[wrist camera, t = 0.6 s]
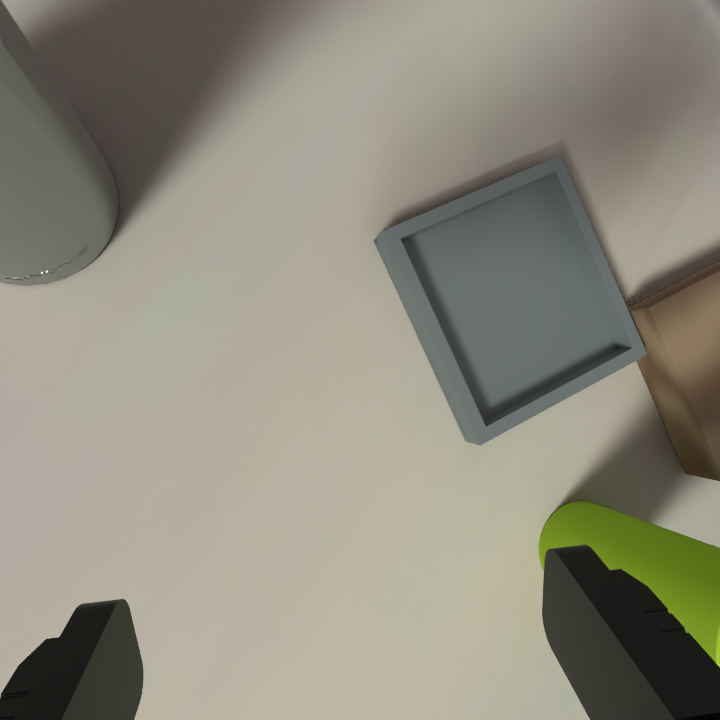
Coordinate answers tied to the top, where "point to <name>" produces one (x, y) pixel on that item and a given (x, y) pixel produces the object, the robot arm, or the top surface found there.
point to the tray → (511, 298)
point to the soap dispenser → (648, 562)
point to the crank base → (685, 365)
